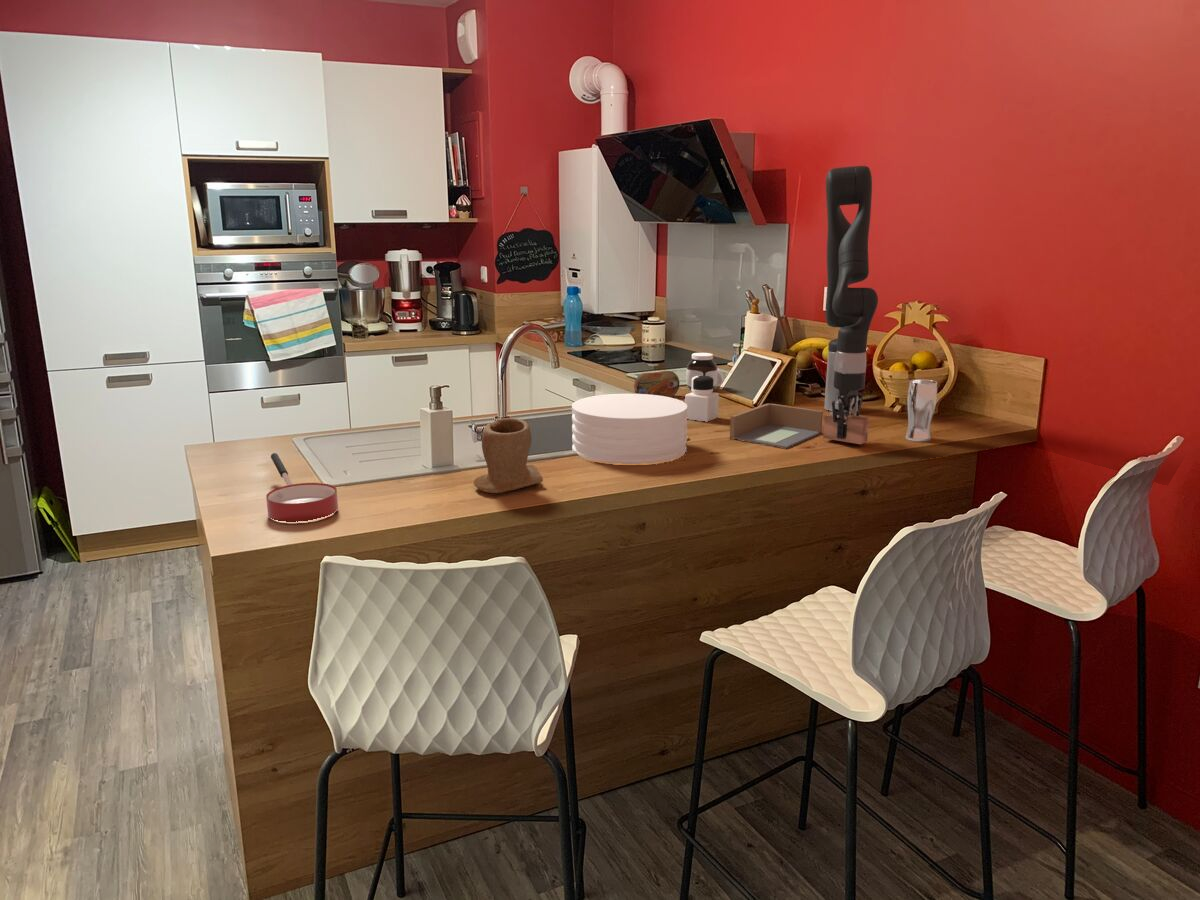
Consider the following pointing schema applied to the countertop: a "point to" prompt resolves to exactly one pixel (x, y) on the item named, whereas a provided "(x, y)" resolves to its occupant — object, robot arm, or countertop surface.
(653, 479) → the countertop surface
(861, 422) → the block
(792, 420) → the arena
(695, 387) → the medicine bottle
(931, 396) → the beer glass
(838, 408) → the robot arm
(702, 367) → the spread jar
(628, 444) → the plate stack
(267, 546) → the countertop surface
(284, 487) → the frying pan
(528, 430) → the stone cup
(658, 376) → the tin
